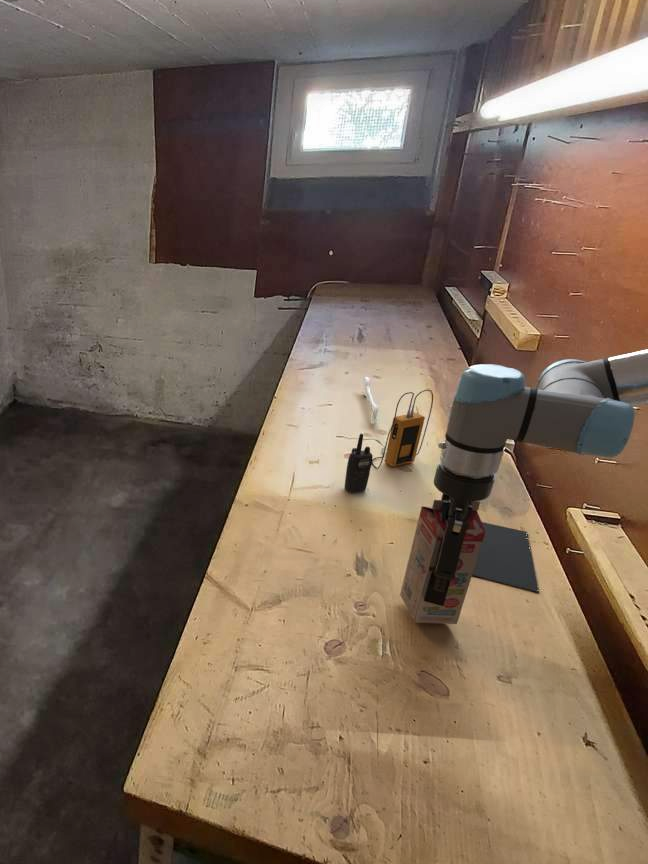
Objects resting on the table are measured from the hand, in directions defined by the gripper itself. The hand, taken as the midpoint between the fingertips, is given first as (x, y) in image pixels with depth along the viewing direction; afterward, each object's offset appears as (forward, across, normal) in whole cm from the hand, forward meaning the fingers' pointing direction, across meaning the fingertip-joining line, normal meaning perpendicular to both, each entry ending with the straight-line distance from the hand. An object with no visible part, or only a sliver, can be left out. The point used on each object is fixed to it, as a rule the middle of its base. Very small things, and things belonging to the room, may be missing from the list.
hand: (434, 584), depth 94 cm
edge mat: (+7, -25, +11) cm, 28 cm away
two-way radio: (+7, -38, -16) cm, 42 cm away
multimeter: (+7, -58, -10) cm, 59 cm away
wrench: (+2, -94, -18) cm, 95 cm away
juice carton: (+6, 0, 0) cm, 6 cm away
